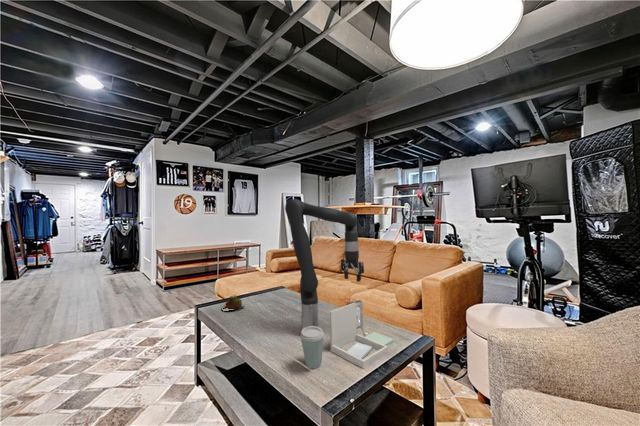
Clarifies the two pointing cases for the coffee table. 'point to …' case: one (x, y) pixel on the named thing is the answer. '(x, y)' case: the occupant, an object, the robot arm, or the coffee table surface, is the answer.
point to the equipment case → (351, 336)
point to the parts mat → (380, 338)
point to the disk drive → (358, 312)
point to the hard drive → (360, 350)
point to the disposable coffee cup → (312, 345)
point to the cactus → (234, 303)
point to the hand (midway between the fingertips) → (352, 280)
